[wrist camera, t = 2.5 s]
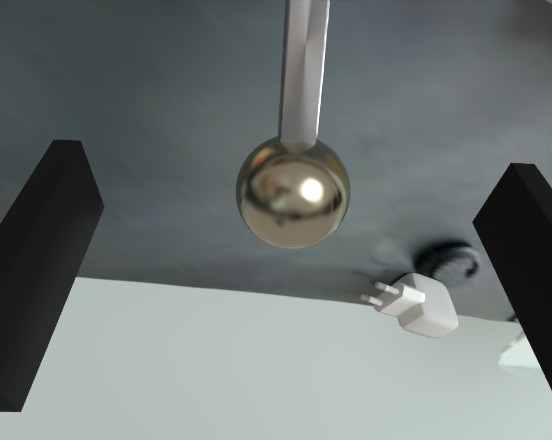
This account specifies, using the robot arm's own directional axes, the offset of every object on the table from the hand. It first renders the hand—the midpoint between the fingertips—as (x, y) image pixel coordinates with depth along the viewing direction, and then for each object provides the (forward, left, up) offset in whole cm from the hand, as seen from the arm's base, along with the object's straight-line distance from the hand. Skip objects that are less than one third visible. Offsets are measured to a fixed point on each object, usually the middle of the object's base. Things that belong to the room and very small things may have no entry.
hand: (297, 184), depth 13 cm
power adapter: (+16, -28, -16) cm, 36 cm away
